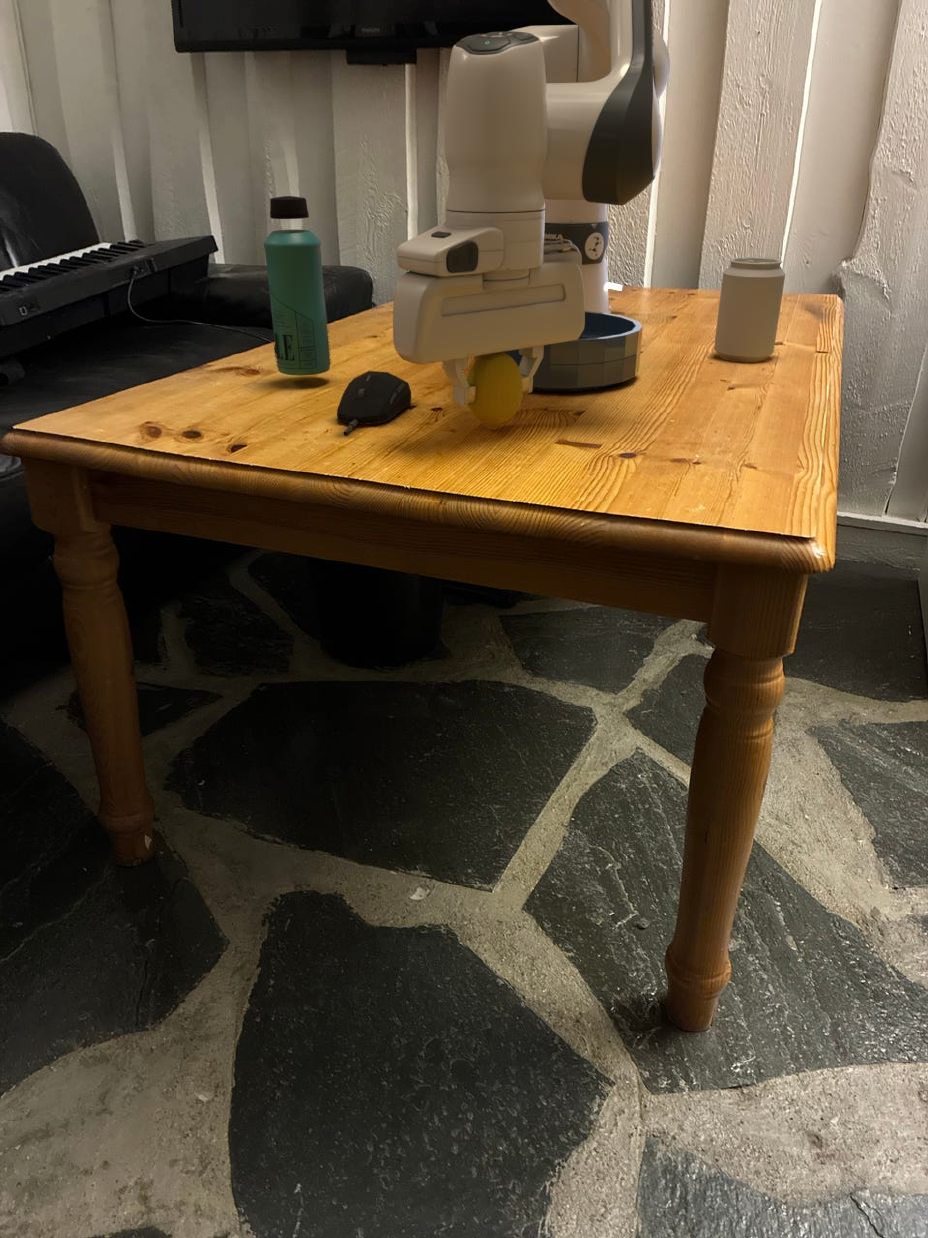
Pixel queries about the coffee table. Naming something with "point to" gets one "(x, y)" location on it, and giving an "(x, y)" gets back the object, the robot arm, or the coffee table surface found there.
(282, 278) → the beverage bottle
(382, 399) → the gaming mouse
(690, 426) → the coffee table surface
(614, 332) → the bowl
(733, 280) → the can
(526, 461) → the coffee table surface
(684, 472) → the coffee table surface
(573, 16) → the robot arm
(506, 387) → the lemon
